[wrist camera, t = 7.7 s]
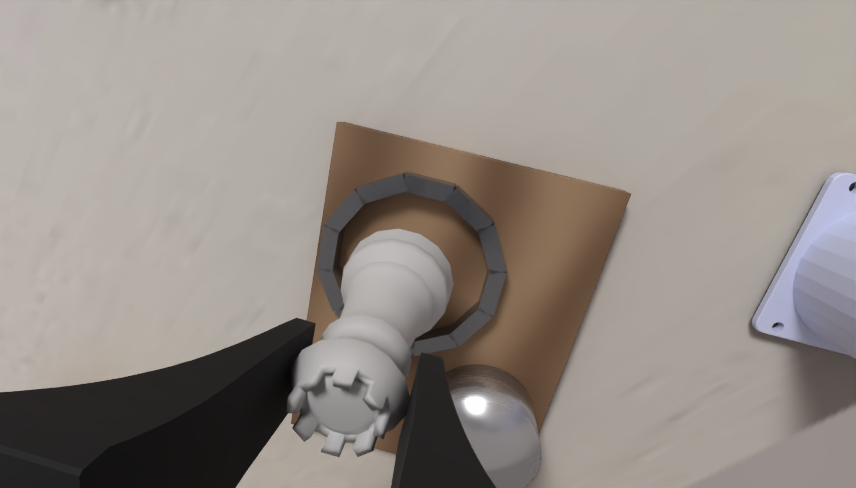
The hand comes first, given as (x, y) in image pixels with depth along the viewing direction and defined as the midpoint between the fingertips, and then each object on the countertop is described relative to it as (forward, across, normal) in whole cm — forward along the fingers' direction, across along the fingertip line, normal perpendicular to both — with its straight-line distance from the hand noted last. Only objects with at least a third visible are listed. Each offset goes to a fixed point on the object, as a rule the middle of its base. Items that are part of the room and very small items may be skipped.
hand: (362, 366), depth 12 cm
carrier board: (+10, -2, +3) cm, 11 cm away
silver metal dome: (+9, -6, +8) cm, 13 cm away
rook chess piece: (+6, 0, -1) cm, 6 cm away
